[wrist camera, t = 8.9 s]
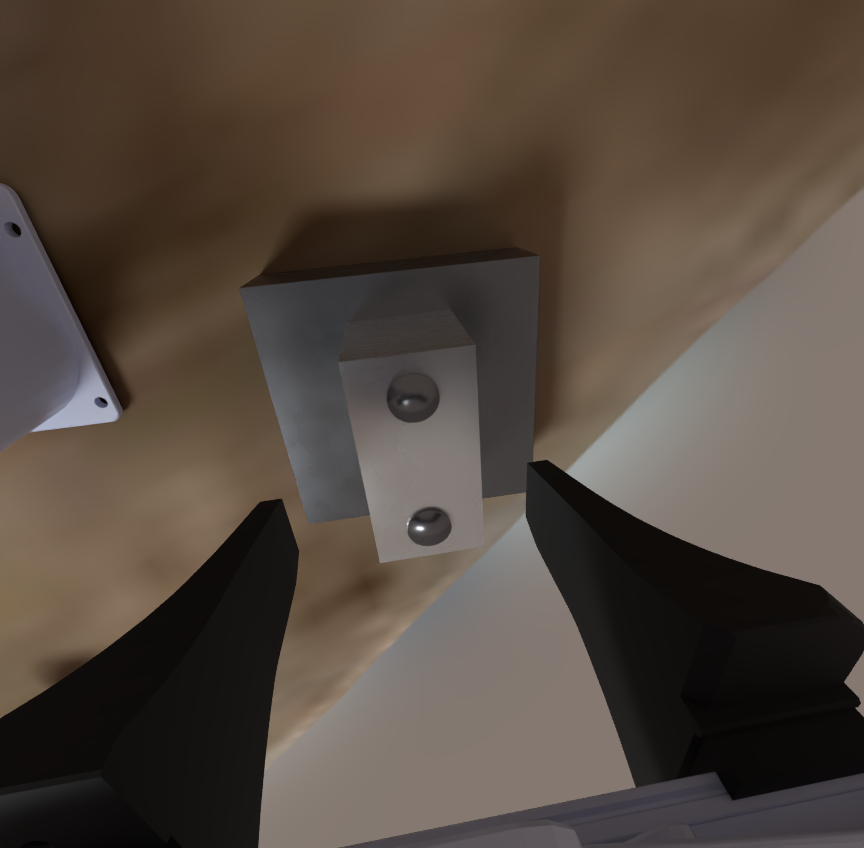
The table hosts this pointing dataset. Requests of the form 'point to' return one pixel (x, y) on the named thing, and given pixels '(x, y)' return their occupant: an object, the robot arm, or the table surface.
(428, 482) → the block
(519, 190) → the table surface
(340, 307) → the stand
